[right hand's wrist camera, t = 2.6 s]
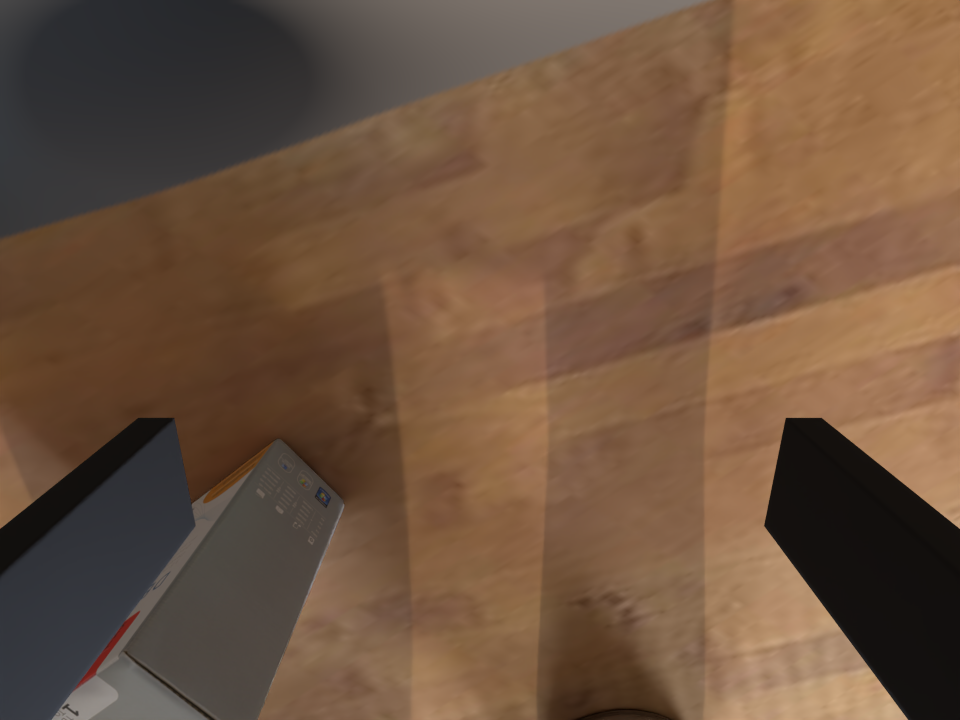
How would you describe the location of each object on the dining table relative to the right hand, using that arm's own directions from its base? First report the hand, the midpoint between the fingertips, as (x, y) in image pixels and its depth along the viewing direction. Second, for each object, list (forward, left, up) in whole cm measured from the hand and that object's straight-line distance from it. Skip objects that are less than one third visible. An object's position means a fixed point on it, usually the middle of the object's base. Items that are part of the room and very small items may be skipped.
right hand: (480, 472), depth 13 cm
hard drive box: (-21, +19, -28) cm, 40 cm away
